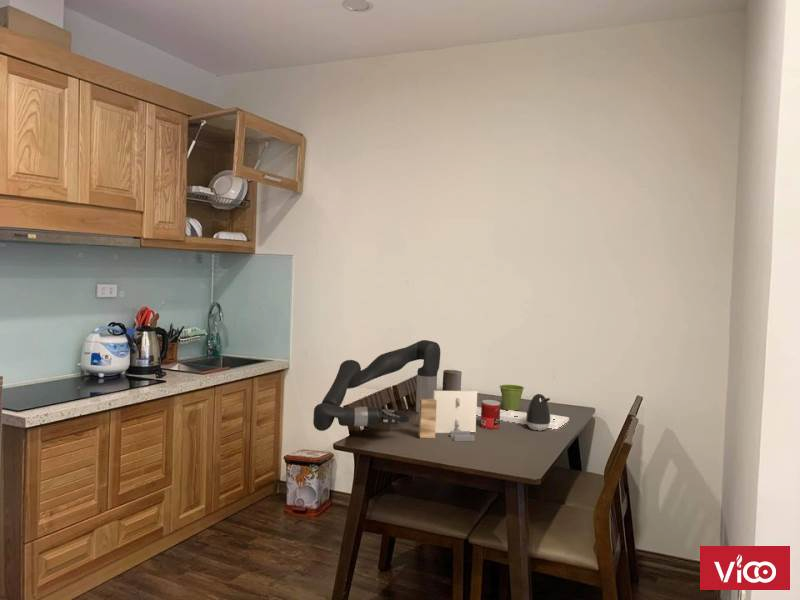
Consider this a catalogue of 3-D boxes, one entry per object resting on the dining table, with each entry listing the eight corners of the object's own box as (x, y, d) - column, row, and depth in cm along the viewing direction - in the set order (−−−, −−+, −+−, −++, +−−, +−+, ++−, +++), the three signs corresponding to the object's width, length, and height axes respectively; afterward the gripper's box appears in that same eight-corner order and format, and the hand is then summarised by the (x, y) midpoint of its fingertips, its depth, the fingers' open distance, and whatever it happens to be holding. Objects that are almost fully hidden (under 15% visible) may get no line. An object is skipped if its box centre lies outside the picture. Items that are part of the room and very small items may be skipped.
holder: (461, 414, 287) (461, 409, 286) (477, 408, 302) (477, 402, 302) (556, 431, 263) (556, 425, 263) (568, 423, 278) (569, 417, 278)
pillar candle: (439, 397, 320) (441, 369, 319) (444, 394, 329) (446, 366, 328) (458, 400, 317) (459, 371, 316) (462, 396, 326) (463, 368, 325)
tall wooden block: (418, 436, 244) (419, 398, 244) (433, 436, 245) (434, 398, 245) (420, 438, 241) (421, 400, 240) (435, 438, 242) (436, 400, 241)
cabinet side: (431, 431, 252) (433, 390, 251) (474, 431, 255) (476, 390, 254) (439, 441, 238) (441, 397, 237) (484, 441, 241) (486, 398, 241)
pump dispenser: (540, 433, 256) (542, 397, 255) (520, 428, 264) (522, 393, 263) (555, 430, 262) (557, 395, 261) (535, 425, 270) (537, 390, 269)
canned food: (497, 430, 258) (498, 404, 258) (478, 428, 261) (480, 402, 260) (500, 426, 266) (502, 401, 265) (482, 424, 268) (483, 399, 268)
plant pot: (496, 406, 305) (498, 384, 304) (521, 407, 304) (522, 385, 304) (499, 412, 293) (500, 388, 292) (524, 413, 292) (526, 389, 292)
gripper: (368, 411, 231) (410, 411, 234) (363, 402, 245) (403, 402, 248) (367, 431, 232) (409, 430, 234) (363, 421, 246) (403, 421, 248)
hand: (406, 416), depth 241 cm, fingers open, 8 cm apart
